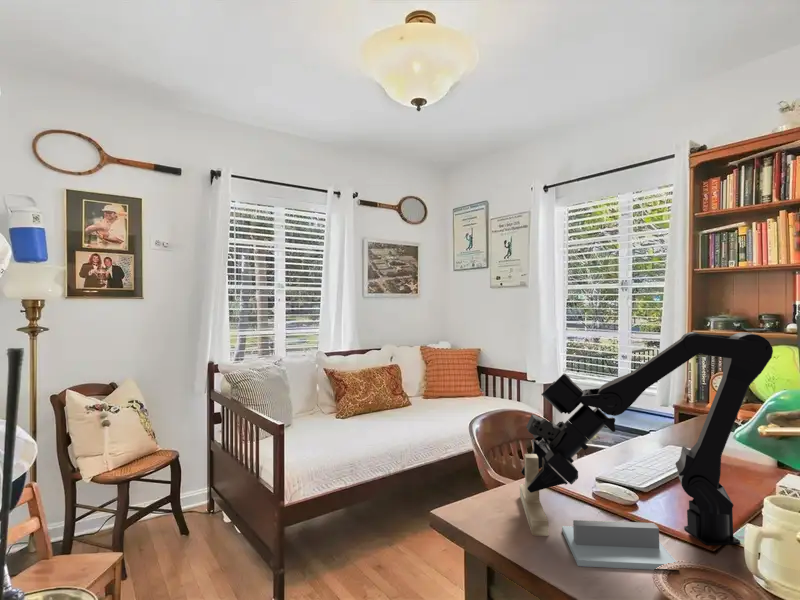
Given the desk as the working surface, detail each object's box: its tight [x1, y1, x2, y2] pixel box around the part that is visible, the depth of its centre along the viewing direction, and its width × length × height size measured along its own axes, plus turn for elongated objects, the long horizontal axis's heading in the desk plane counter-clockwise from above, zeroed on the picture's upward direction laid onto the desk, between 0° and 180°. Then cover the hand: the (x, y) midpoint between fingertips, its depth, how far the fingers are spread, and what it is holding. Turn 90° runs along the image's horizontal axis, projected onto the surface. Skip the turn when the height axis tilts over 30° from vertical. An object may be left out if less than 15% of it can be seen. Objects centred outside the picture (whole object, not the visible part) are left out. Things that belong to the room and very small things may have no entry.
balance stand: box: [561, 519, 677, 571], centre depth 82 cm, size 16×12×4 cm
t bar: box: [519, 453, 549, 537], centre depth 97 cm, size 3×18×12 cm, turn 173°
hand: (525, 481), depth 97 cm, fingers open, 9 cm apart
